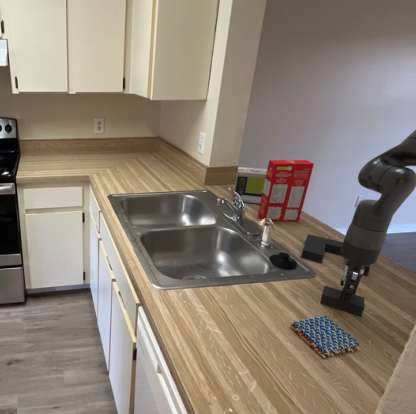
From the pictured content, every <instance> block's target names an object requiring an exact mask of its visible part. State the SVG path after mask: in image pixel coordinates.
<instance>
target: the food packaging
mask: <svg viewBox="0 0 416 414" xmlns="http://www.w3.org/2000/svg"><path fill="white" fill-rule="evenodd" d="M314 165H315V163H314V162H311V161H310V160H307V159H269V160H268V164H267V168H266V169H267V173H266V178H265V183H264V188H263V192H262V197H261V202H260V204H259V206H258V207H259V208H258V212H257V217H258V218H259V219H260V220H261V219H264V218H270V219H271V220H272V221H273V223H274V222H275V223H277V222H278V223H279V222H281V223H292V222H293V223H299V222H300V219H301V216H302V210H303V207H304V204H305V199H306V196H307V192H308V188H309V185H310V181H311V176H312V172H313V170H314Z"/></svg>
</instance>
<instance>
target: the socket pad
mask: <svg viewBox="0 0 416 414" xmlns="http://www.w3.org/2000/svg"><path fill="white" fill-rule="evenodd" d="M343 242H344V241H343ZM343 242H342V241H339V240H336V239H335V240H334V239H330V238H326V237H323V236H319V235H314V234H310V233H309V234H307V236H306V238H305V241H304V244H303V248H302V252H301V255H300V258H301V259H305V260H309V261H311V262H316V263H320V264H322V263H323V258H324V255H325V252H327V253H330V254H333V255H339V256H342V255H341V253H340V250H341V247H342V245H343ZM345 260H346V258H344V261H345ZM370 269H371V265H364V273H363V274H362V276H363V275H364V276H368V274H369V273H370Z"/></svg>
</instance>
